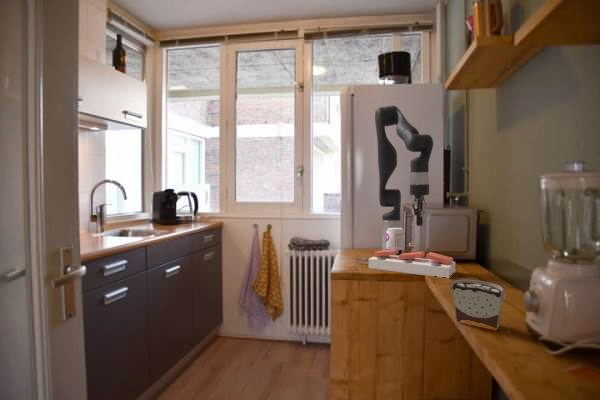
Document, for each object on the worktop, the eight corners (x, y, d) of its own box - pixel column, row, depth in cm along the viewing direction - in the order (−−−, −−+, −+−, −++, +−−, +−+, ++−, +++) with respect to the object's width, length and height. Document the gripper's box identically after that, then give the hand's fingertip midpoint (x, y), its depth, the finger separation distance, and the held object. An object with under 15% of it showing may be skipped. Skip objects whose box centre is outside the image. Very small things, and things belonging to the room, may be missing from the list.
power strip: (362, 261, 162) (362, 250, 161) (455, 271, 139) (455, 259, 139) (351, 266, 152) (351, 254, 152) (448, 278, 129) (448, 265, 129)
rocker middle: (403, 256, 149) (403, 253, 149) (424, 255, 144) (424, 251, 144) (399, 259, 144) (398, 255, 144) (420, 257, 139) (420, 253, 139)
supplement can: (385, 261, 160) (385, 229, 160) (387, 257, 168) (387, 227, 168) (404, 262, 158) (403, 229, 157) (404, 258, 166) (404, 227, 165)
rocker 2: (429, 255, 143) (430, 252, 143) (452, 261, 138) (453, 257, 138) (425, 258, 138) (426, 254, 138) (449, 264, 133) (450, 260, 133)
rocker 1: (379, 254, 155) (378, 250, 155) (398, 252, 150) (398, 249, 150) (374, 256, 150) (373, 253, 150) (394, 255, 145) (393, 251, 145)
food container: (510, 325, 85) (510, 285, 84) (504, 333, 80) (504, 290, 80) (457, 313, 93) (457, 277, 93) (449, 320, 88) (449, 281, 88)
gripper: (414, 183, 149) (414, 223, 150) (405, 183, 138) (405, 227, 139) (432, 183, 145) (432, 224, 146) (425, 183, 134) (425, 228, 135)
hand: (419, 225), depth 143 cm, fingers closed
